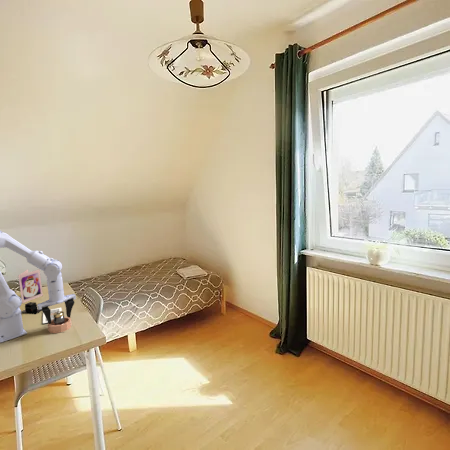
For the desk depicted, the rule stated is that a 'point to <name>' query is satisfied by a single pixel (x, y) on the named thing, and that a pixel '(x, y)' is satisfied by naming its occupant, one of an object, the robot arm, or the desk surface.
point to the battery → (58, 318)
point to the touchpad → (51, 314)
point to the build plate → (31, 308)
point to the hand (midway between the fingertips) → (59, 319)
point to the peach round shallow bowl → (60, 326)
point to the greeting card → (30, 285)
